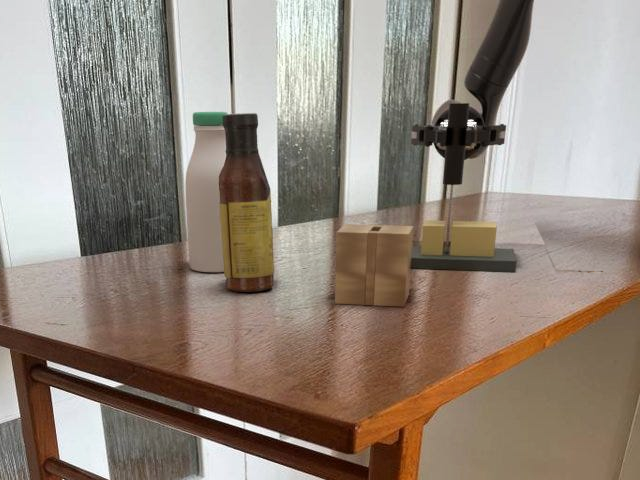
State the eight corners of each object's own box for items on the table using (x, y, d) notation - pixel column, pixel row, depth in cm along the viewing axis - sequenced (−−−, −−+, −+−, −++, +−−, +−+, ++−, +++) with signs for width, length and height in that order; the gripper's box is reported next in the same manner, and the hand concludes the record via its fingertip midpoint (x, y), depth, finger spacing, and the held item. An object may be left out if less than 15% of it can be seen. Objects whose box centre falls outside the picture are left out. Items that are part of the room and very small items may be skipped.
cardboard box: (408, 295, 91) (413, 225, 87) (404, 307, 85) (409, 233, 82) (342, 292, 92) (344, 224, 89) (334, 303, 87) (336, 231, 83)
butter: (512, 259, 111) (517, 220, 109) (515, 272, 103) (520, 230, 100) (403, 255, 115) (405, 217, 112) (397, 268, 106) (399, 227, 104)
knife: (456, 249, 109) (469, 103, 101) (455, 252, 107) (469, 103, 98) (437, 249, 110) (449, 103, 101) (437, 252, 107) (448, 103, 99)
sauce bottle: (284, 288, 95) (283, 112, 86) (249, 296, 91) (244, 113, 82) (247, 281, 99) (243, 112, 90) (212, 289, 95) (203, 113, 86)
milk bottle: (242, 273, 103) (237, 111, 95) (186, 273, 104) (176, 112, 95) (245, 263, 110) (241, 111, 101) (193, 263, 110) (184, 111, 102)
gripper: (414, 105, 114) (404, 106, 99) (510, 104, 111) (514, 104, 96) (411, 159, 117) (400, 167, 102) (503, 159, 114) (507, 168, 99)
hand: (456, 137), depth 99 cm, fingers closed on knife, 2 cm apart
